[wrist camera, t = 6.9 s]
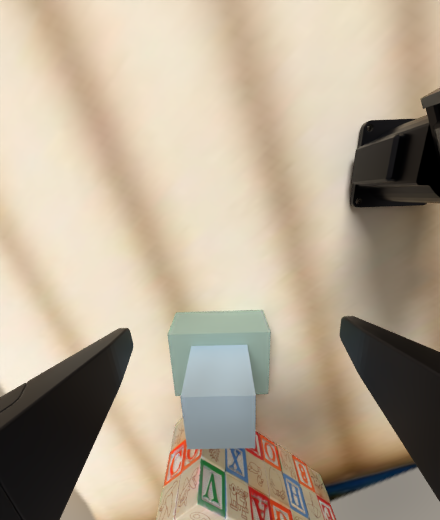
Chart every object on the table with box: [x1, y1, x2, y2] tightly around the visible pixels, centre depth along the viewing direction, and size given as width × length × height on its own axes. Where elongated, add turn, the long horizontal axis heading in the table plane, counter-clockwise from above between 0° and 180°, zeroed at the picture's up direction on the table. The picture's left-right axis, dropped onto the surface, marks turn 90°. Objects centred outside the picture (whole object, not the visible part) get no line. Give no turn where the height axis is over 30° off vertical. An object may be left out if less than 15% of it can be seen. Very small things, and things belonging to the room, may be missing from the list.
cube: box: [181, 345, 256, 449], centre depth 17 cm, size 5×5×5 cm
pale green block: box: [168, 310, 271, 396], centre depth 21 cm, size 9×7×4 cm
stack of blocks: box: [156, 418, 336, 520], centre depth 22 cm, size 21×6×12 cm, turn 48°
